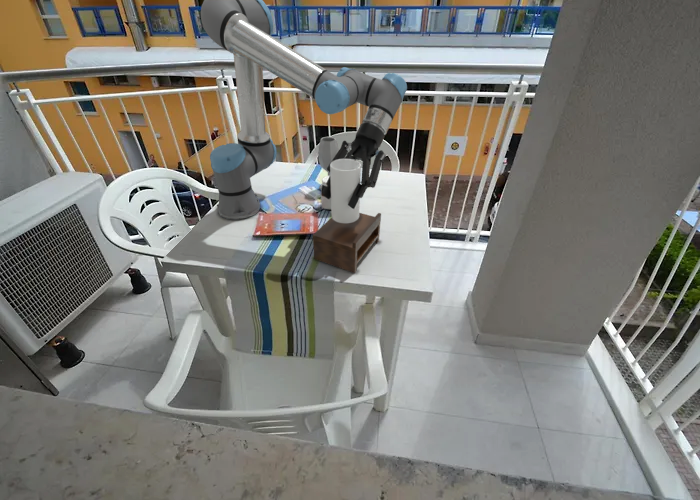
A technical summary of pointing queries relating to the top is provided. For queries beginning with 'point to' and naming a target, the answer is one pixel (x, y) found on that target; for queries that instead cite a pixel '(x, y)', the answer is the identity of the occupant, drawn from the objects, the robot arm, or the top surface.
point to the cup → (344, 189)
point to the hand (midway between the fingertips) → (338, 201)
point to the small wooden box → (346, 241)
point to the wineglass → (327, 152)
